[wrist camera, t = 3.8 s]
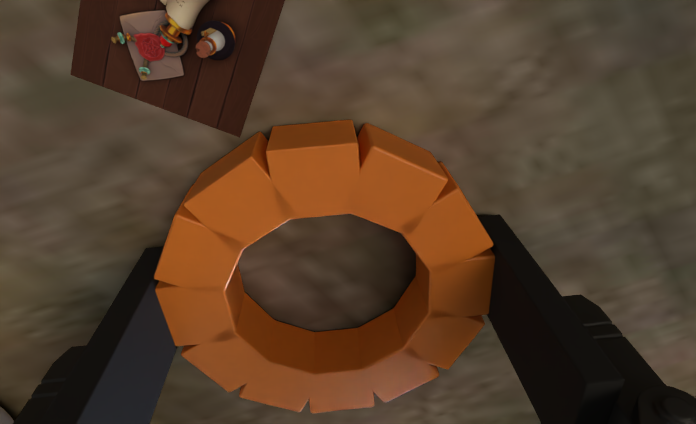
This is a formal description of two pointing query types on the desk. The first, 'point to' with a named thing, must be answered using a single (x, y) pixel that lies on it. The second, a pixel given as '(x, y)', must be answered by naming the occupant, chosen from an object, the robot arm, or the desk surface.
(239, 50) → the diorama
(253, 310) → the orange ring
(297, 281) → the desk surface
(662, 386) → the robot arm
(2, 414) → the pill bottle
